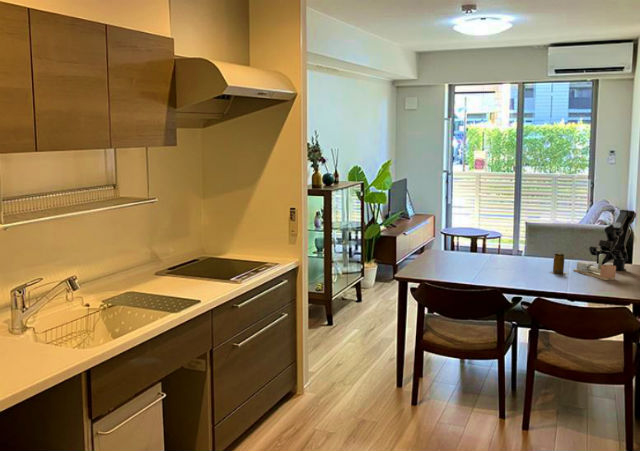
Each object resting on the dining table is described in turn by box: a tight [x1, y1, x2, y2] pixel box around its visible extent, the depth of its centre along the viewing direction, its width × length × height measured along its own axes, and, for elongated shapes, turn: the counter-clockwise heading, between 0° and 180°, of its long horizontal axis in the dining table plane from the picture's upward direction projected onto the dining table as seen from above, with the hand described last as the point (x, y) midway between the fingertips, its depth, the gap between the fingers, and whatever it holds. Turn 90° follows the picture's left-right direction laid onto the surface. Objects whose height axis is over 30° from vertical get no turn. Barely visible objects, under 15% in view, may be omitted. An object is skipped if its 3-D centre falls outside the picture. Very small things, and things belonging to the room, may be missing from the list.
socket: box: [600, 263, 617, 279], centre depth 370 cm, size 7×4×7 cm, turn 112°
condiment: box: [549, 252, 569, 276], centre depth 383 cm, size 7×8×12 cm
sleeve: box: [576, 260, 594, 273], centre depth 386 cm, size 5×8×5 cm, turn 22°
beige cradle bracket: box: [587, 254, 605, 274], centre depth 376 cm, size 3×15×12 cm, turn 22°
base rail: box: [572, 268, 616, 281], centre depth 380 cm, size 7×26×1 cm, turn 22°
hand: (599, 263), depth 373 cm, fingers closed on beige cradle bracket, 3 cm apart
